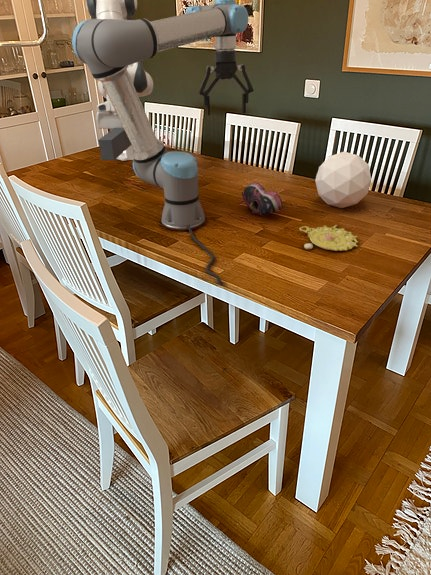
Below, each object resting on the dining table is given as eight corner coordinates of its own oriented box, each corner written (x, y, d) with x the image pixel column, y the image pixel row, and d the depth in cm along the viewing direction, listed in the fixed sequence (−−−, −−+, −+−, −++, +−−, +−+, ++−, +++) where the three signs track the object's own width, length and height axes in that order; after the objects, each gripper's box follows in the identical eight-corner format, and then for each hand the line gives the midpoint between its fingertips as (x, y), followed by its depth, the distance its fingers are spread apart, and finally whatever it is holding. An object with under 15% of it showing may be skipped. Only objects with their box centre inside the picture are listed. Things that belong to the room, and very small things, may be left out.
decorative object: (343, 255, 128) (285, 234, 139) (342, 262, 130) (284, 241, 140) (372, 230, 142) (317, 213, 152) (371, 237, 143) (316, 219, 153)
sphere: (346, 226, 165) (361, 198, 146) (301, 199, 169) (309, 168, 151) (372, 190, 170) (389, 158, 151) (327, 165, 174) (338, 131, 156)
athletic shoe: (254, 181, 170) (227, 189, 167) (283, 176, 151) (253, 185, 147) (260, 210, 173) (234, 218, 170) (290, 209, 154) (261, 219, 150)
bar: (114, 160, 173) (111, 140, 168) (101, 160, 173) (98, 139, 169) (132, 144, 192) (129, 125, 188) (120, 144, 193) (118, 125, 189)
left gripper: (145, 103, 183) (148, 137, 190) (97, 103, 185) (103, 137, 193) (141, 106, 177) (144, 141, 185) (92, 106, 180) (98, 141, 188)
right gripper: (257, 47, 160) (256, 109, 172) (189, 50, 157) (192, 113, 169) (262, 49, 154) (260, 113, 166) (191, 52, 151) (194, 117, 163)
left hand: (123, 139), depth 189 cm, fingers closed on bar, 5 cm apart
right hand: (226, 113), depth 167 cm, fingers open, 13 cm apart
